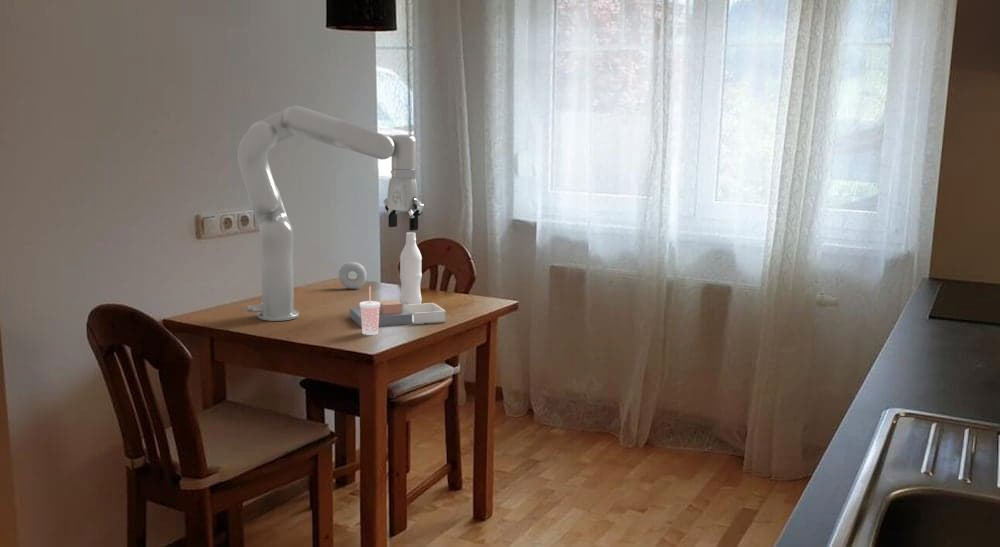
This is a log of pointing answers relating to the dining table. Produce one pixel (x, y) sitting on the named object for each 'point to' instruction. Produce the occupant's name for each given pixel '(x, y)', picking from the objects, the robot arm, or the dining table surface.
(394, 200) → the robot arm
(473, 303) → the dining table surface
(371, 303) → the beverage cup
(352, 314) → the slate board
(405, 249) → the water bottle
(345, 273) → the donut
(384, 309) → the terracotta tile
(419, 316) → the tray
